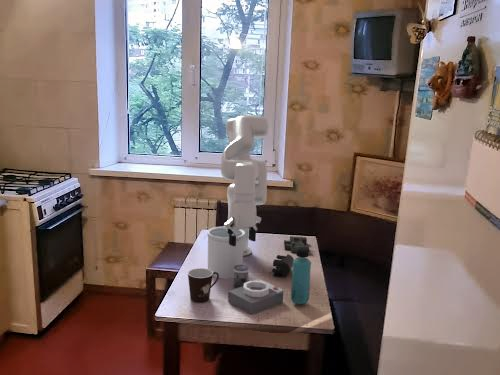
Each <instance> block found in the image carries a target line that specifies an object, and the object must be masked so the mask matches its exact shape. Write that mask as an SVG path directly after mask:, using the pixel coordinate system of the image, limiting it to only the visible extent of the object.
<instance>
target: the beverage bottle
mask: <svg viewBox="0 0 500 375" xmlns="http://www.w3.org/2000/svg"><path fill="white" fill-rule="evenodd" d="M309 254H310V253H309ZM309 254H308V250H307V249H303V248H300V249H297V253H295V255H296V256H297V257H296V258H294V261H293V267H292V273H291V290H290V300H291V301H292V302H293V303H295V304H299V305H304V304H307V303H308V302H309V301H310V285H311V268H312V267H311V266H312V262H311V260H309V259H308V258H309Z"/></svg>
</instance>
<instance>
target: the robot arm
mask: <svg viewBox="0 0 500 375" xmlns="http://www.w3.org/2000/svg"><path fill="white" fill-rule="evenodd" d="M225 131H226V136H227V140H228V141H229V144H228V145H227V146H226V147H225V149H224V150H223V151H222V154H221V159H220V160H221V162H220V164H221V165H220V173H221V176H222V178H224V179H225V180H231V181H233V183H231V184H229V185H228V187H227V190H226V197H227V205H228V209H227V210H228V215H227V221H226V222H224V224H223V226H224V227H225V230H226V232H227V233H228V234H229V245H232V246H236V236H235V234H236V232H237V231H238V230H241V229H242V230H243V231H244V232H245V237H244V246H243V257H244V256H248V255H250V254H251V253H252V248H251V247H250V246H249V241H251V242H256V238H257V236H256V235H257V231H258V228H259V226H260V224H261V221H262V217H260V216H257V206H261V205H264V204H265V203H266V202H267V191H268V189H267V186H268V182H267V180H268V172H267V171H268V170H267V168H268V167H267V164H266V162H265V161H264V160H263V159H259V158H257V159H256V158H251V151H252V150H253V149H254V147H255V139H263V138H266V137H267V135H268V133H269V122H268V120H267V118H266V117H265V116H262V115H240V116H237V117H234V118H233V117H232V118H229V119H228V120H227V121H226V127H225ZM233 229H234V231H233Z"/></svg>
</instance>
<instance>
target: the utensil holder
mask: <svg viewBox="0 0 500 375" xmlns="http://www.w3.org/2000/svg"><path fill="white" fill-rule="evenodd" d="M233 231H234V229H233ZM206 232H207V269H209V270H211V271H212V272H217V273H218V274H219V278H218V279H234V266H236V265H243V261H244V260H243V259H244V256H243V246H244V237H245V232H244V231H243V230H242V229H241V230H238V231H237V232H236V234H235V236H236V246H232V245H229V234H228V233H227V232H226V230H225V227H224V225H223V226H214V227H211V228H208V229H207V231H206ZM212 277H214V278H217V274H213V276H212Z"/></svg>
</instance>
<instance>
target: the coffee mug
mask: <svg viewBox="0 0 500 375" xmlns="http://www.w3.org/2000/svg"><path fill="white" fill-rule="evenodd" d="M213 274H217V277H216V279H215V280H214V282H213V277H214V276H213ZM187 278H188V288H189V296H190V300H191V302H192V303H195V304H205V303H207V302H209V301H210V296H211V289H212V288H213V286H215V285H216V283H217V282H218V280H219V279H220V278H219V274H218V273H217V272H212V271H211V270H209V269H208V268H204V267H198V268H192V269H190V270H189V271H188V272H187ZM212 282H213V283H212Z"/></svg>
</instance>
